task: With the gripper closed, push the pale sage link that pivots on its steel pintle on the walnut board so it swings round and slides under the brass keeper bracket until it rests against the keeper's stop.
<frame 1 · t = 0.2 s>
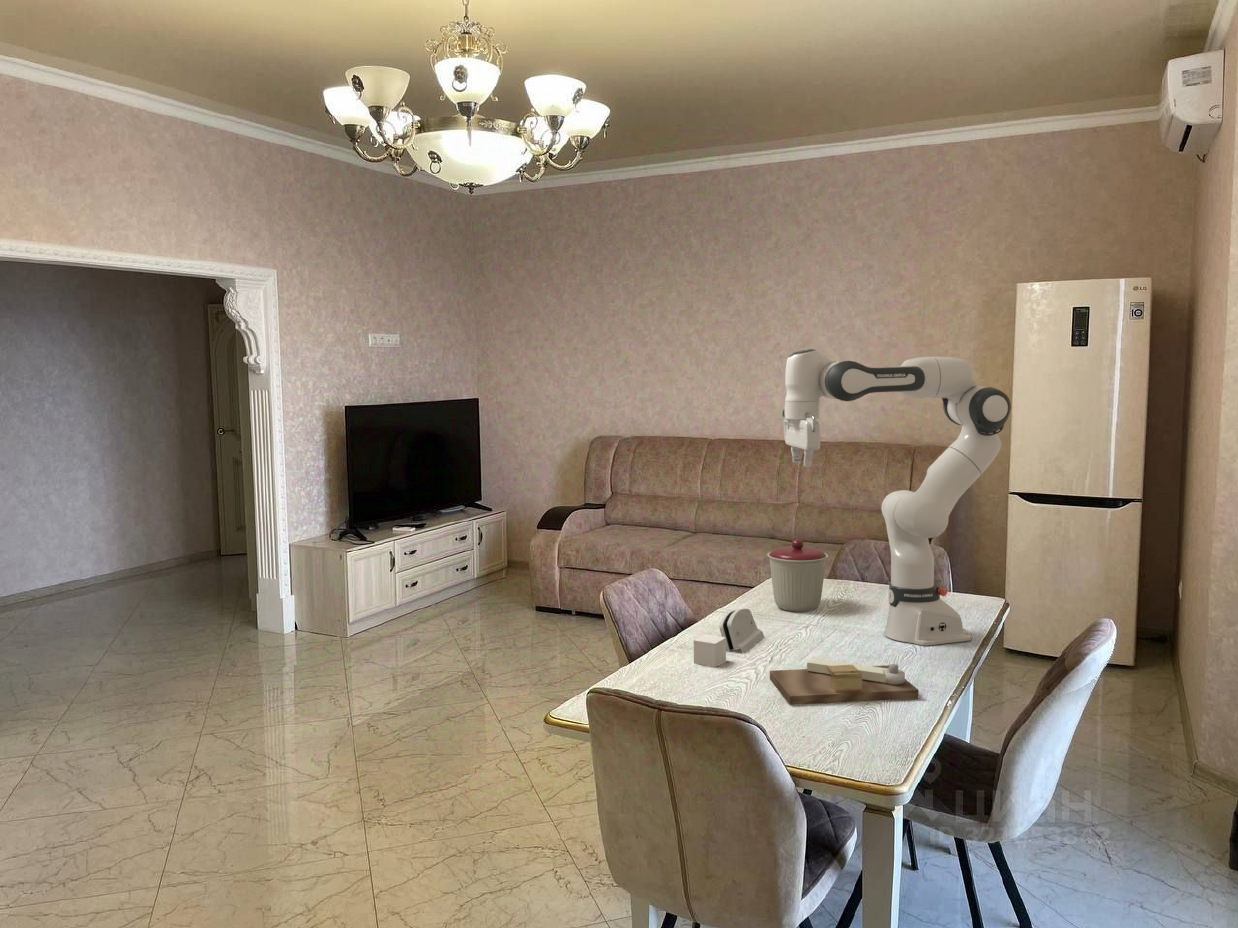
hand: (801, 465, 241), 47 cm above the table, fingers open, 8 cm apart
keeper: (844, 686, 205), resting on board
canister: (797, 608, 280), on the table
hinge: (740, 644, 245), on the table
link: (855, 667, 212), point 4 cm above the table, hinge at -35.0°
board: (841, 688, 210), on the table
light grey cube: (710, 662, 230), on the table
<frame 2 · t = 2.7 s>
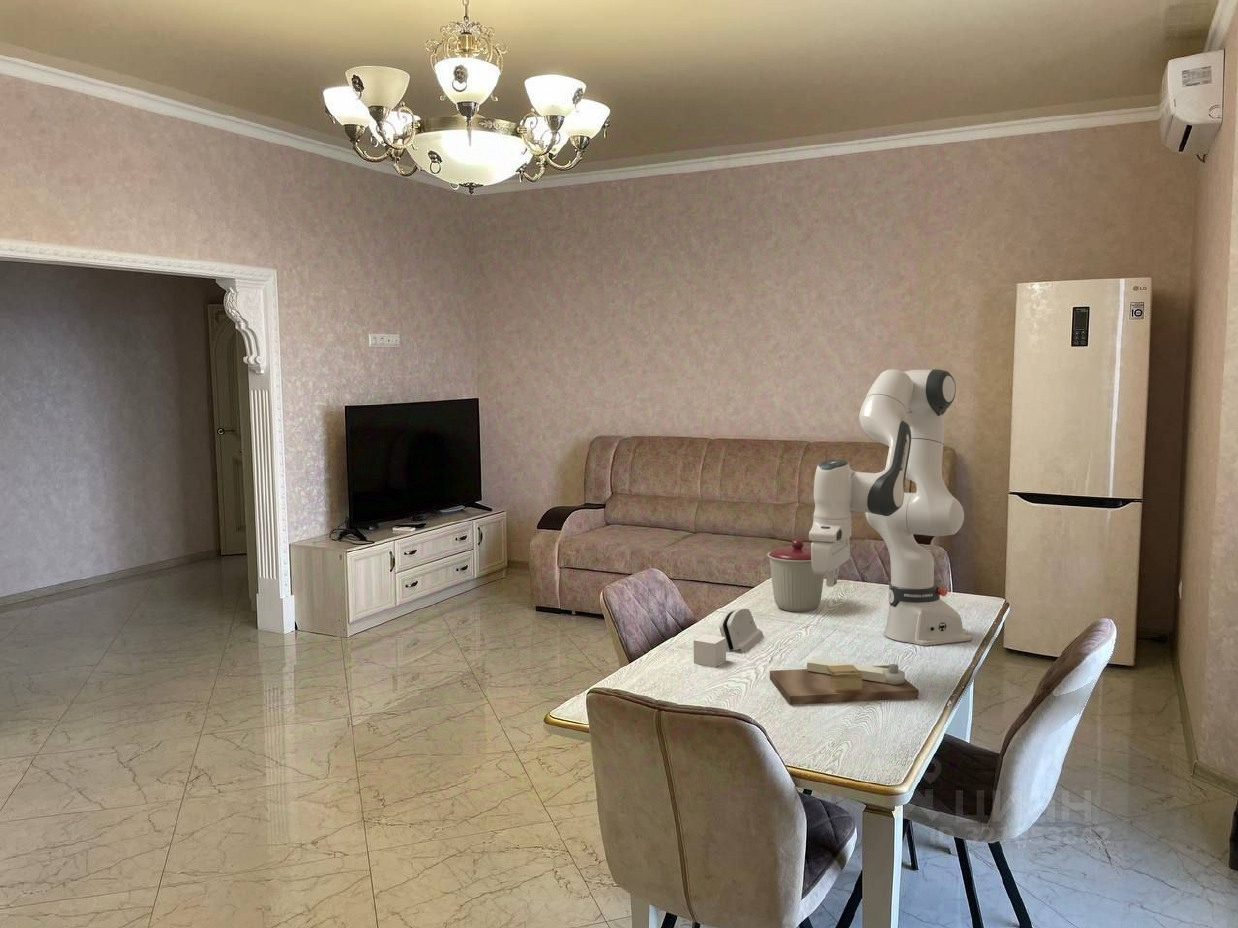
hand: (831, 585, 220), 21 cm above the table, fingers closed
nothing on the table moved.
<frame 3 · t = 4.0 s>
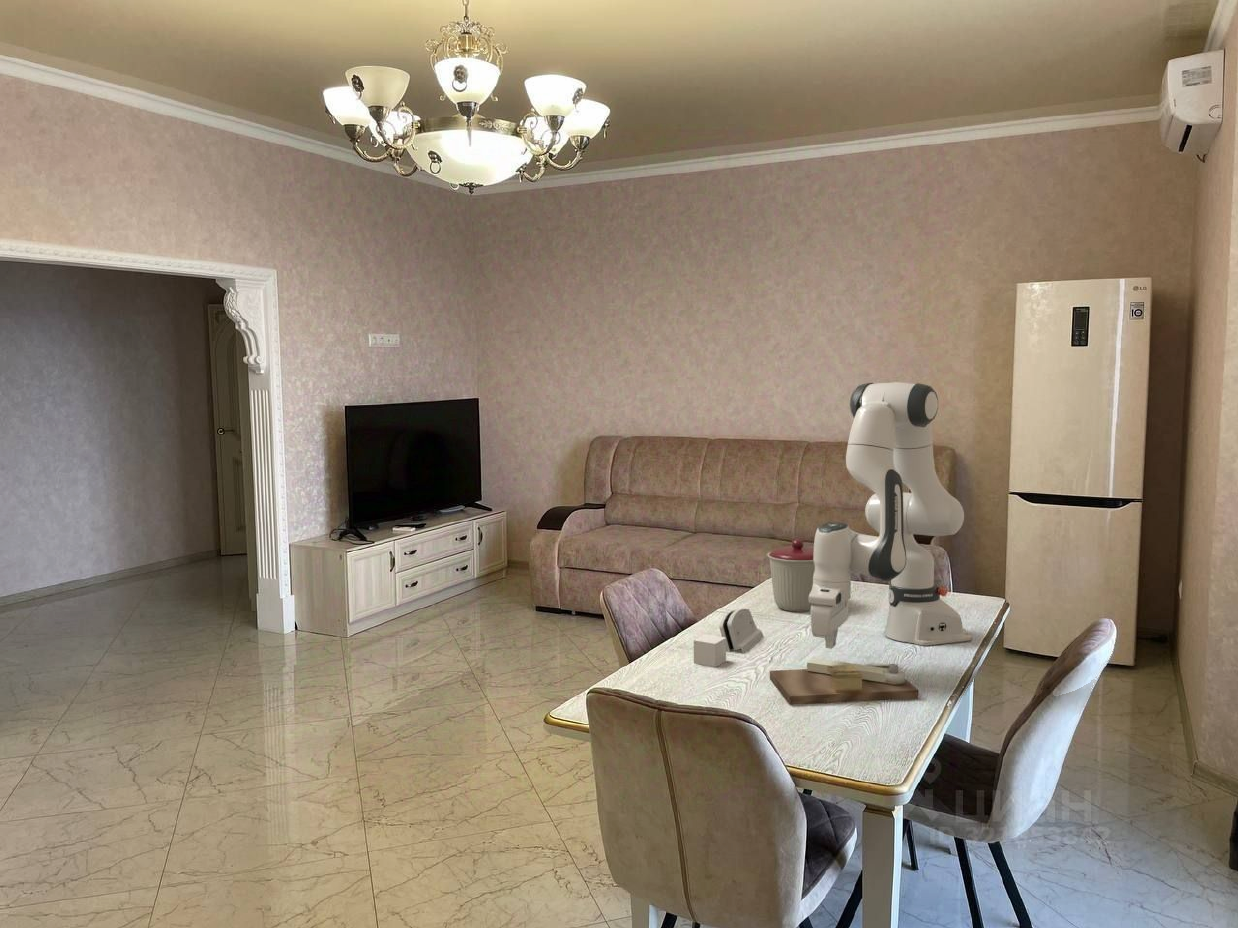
hand: (830, 646, 221), 6 cm above the table, fingers closed
nothing on the table moved.
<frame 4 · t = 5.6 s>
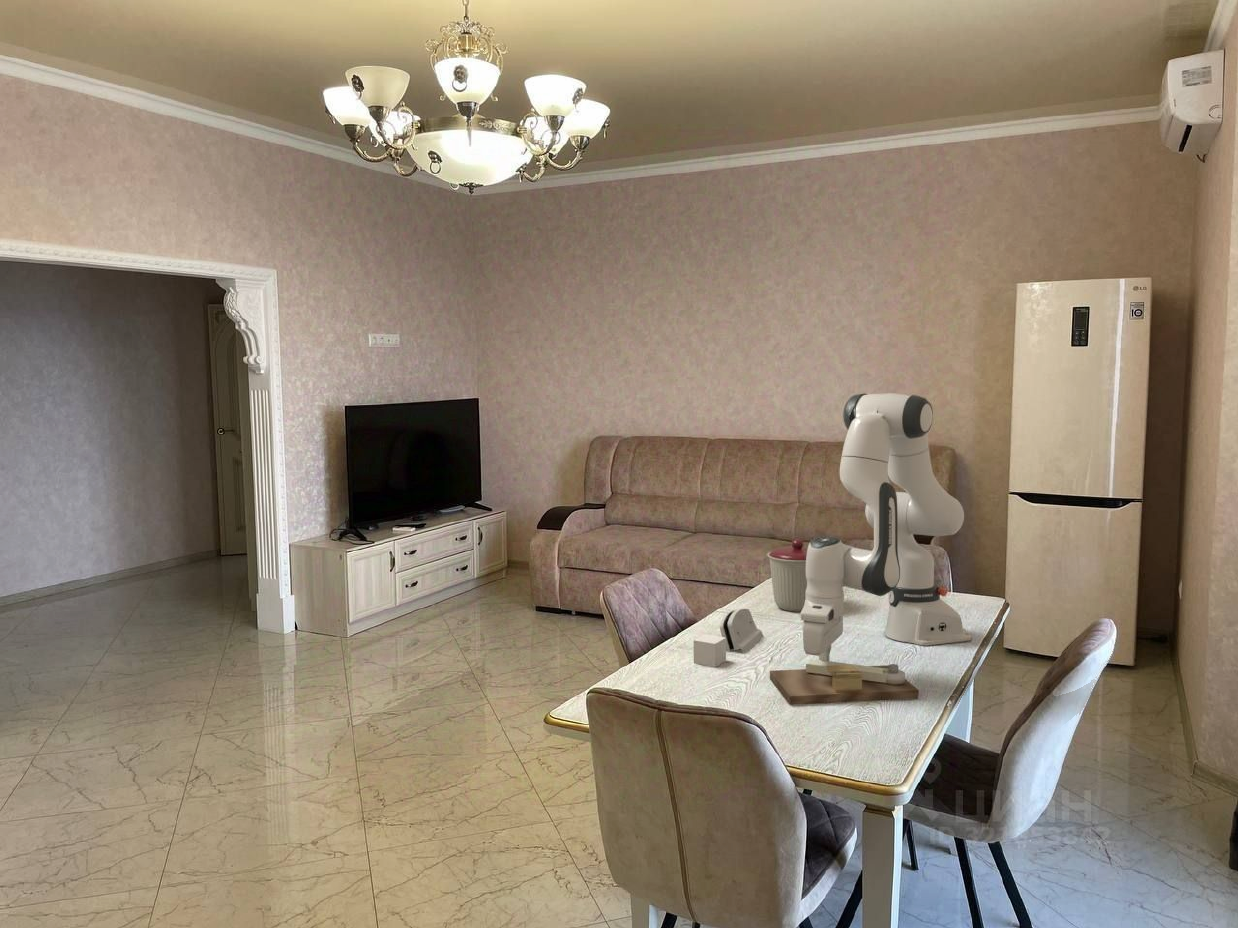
hand: (824, 663, 218), 3 cm above the table, fingers closed
link: (855, 668, 211), point 4 cm above the table, hinge at -31.7°, touching gripper
everything else where it was.
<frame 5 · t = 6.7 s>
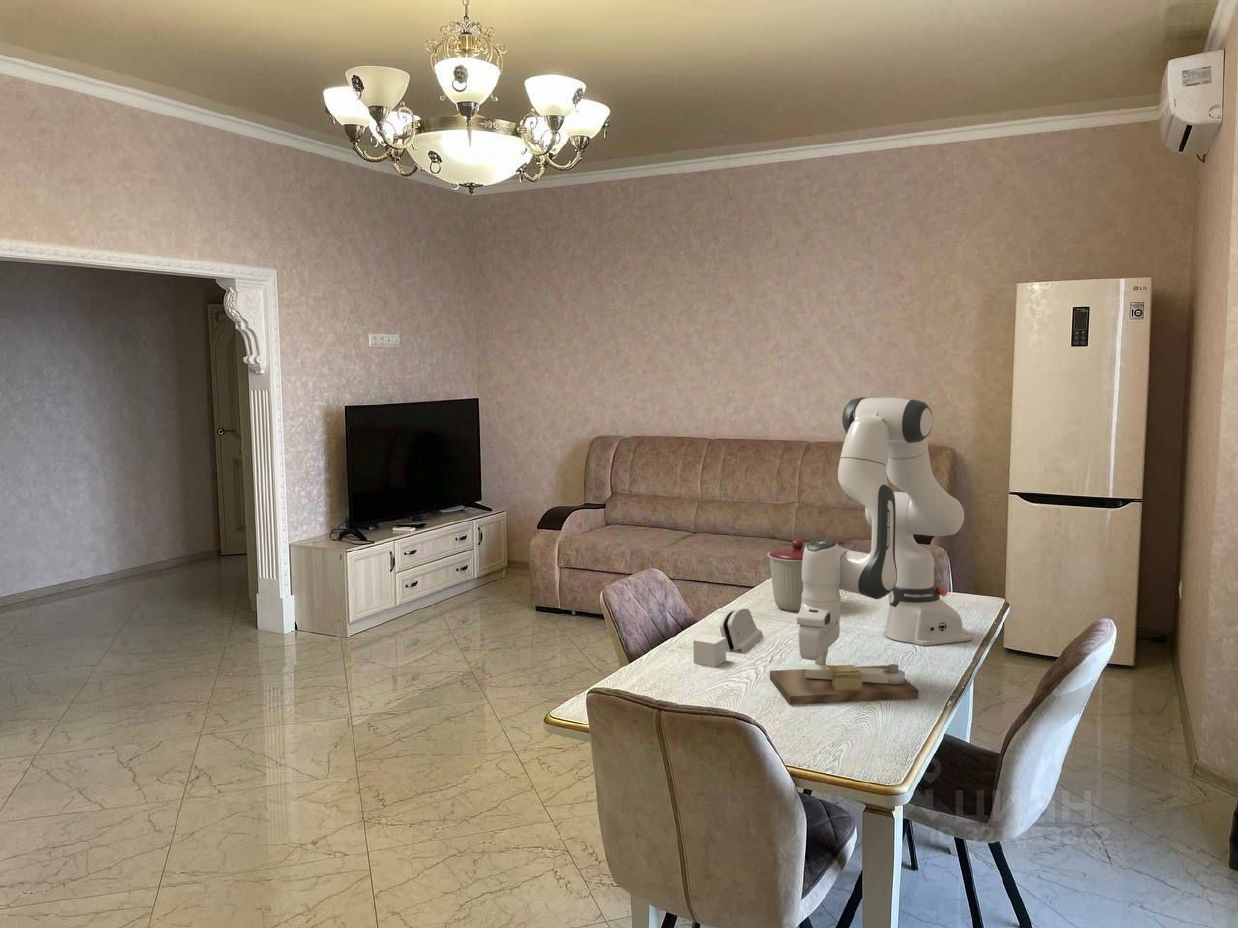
hand: (820, 667, 215), 3 cm above the table, fingers closed
link: (854, 670, 210), point 4 cm above the table, hinge at -20.0°, touching gripper
everything else where it was.
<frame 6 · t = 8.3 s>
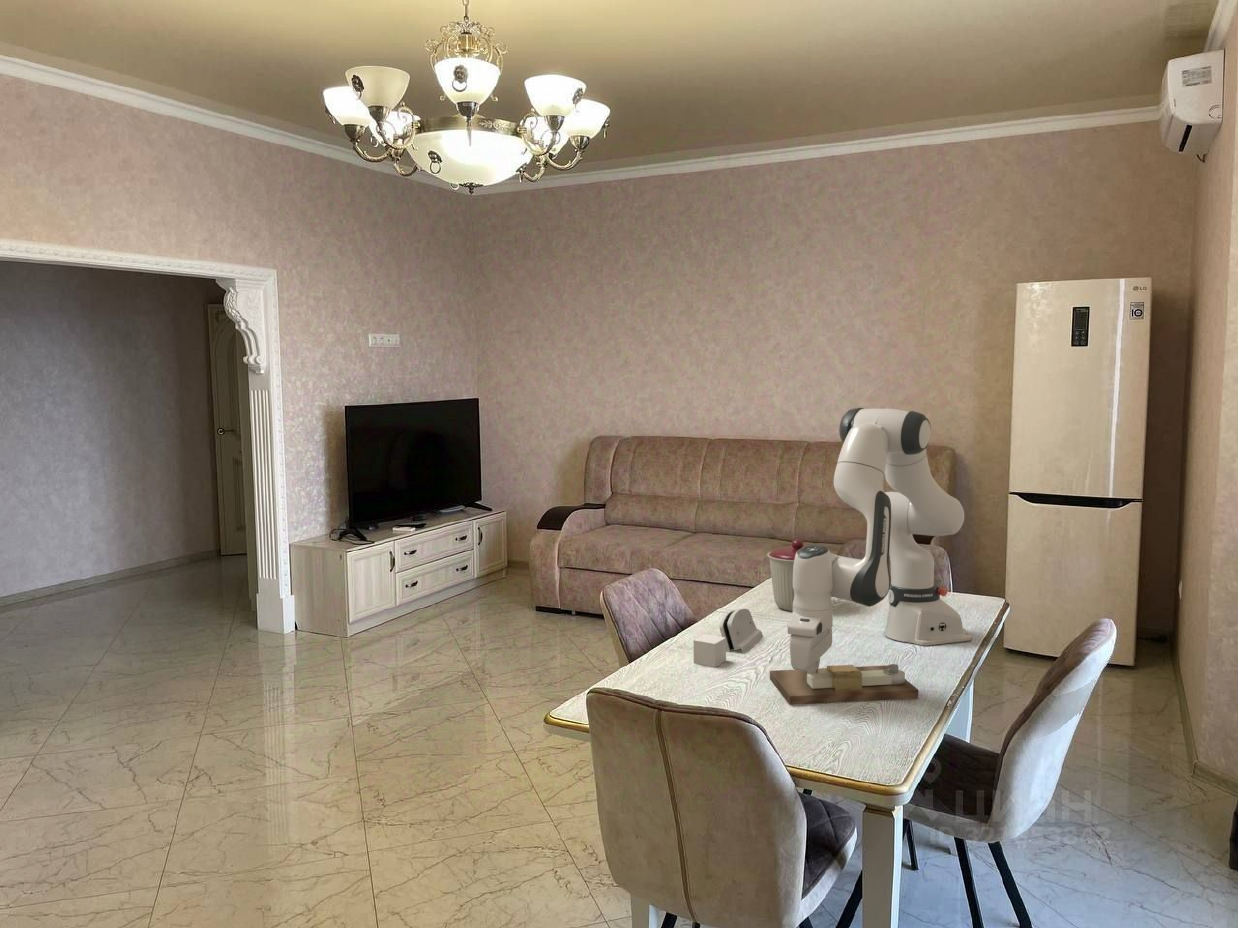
hand: (812, 677, 209), 3 cm above the table, fingers closed
link: (857, 675, 207), point 4 cm above the table, hinge at 1.2°, touching gripper
everything else where it was.
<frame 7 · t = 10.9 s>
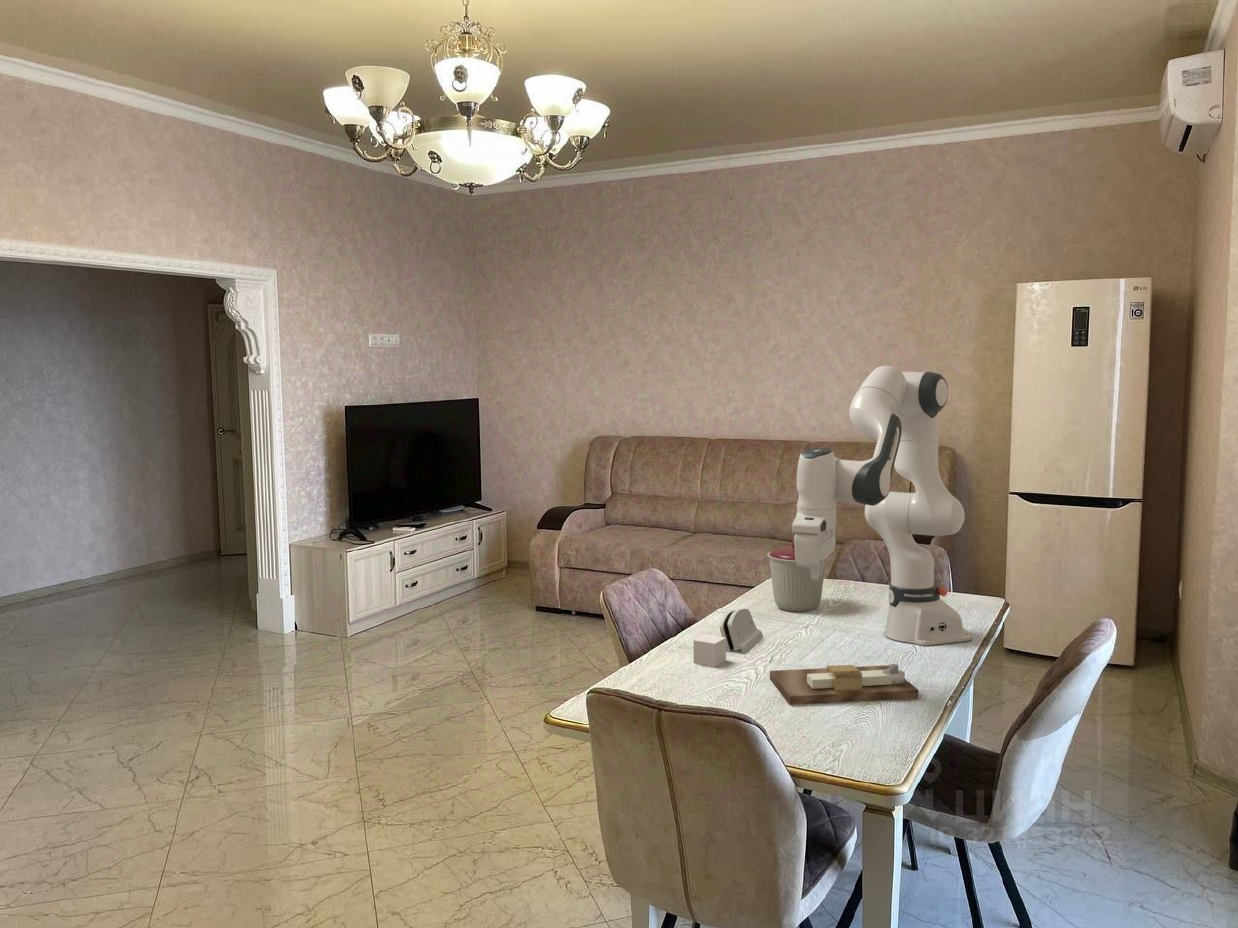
hand: (816, 578, 212), 25 cm above the table, fingers closed
link: (857, 675, 207), point 4 cm above the table, hinge at 1.2°
everything else where it was.
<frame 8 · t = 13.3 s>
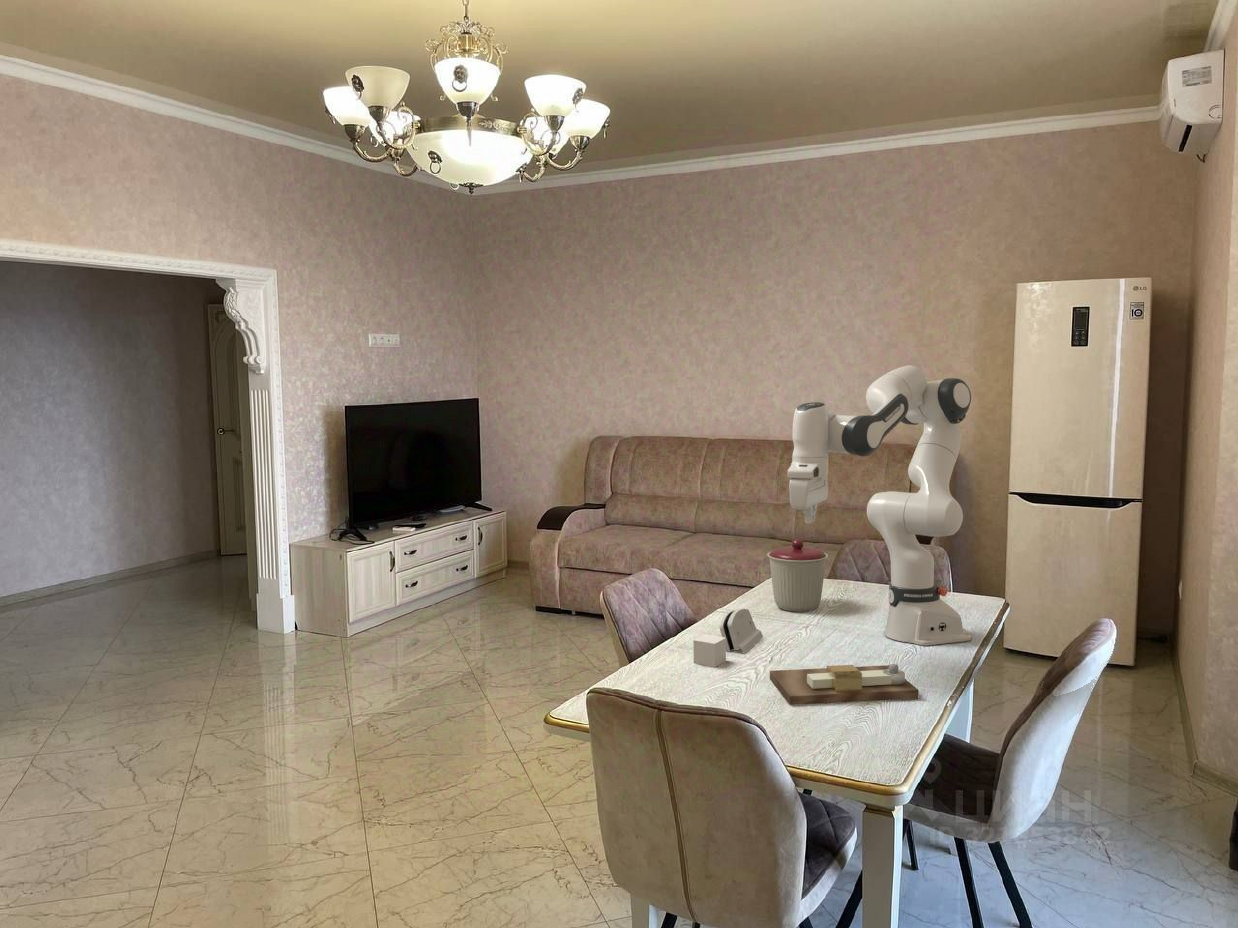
hand: (809, 522, 231), 34 cm above the table, fingers closed
nothing on the table moved.
at the end: link at +1° (first picture: -35°) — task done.
